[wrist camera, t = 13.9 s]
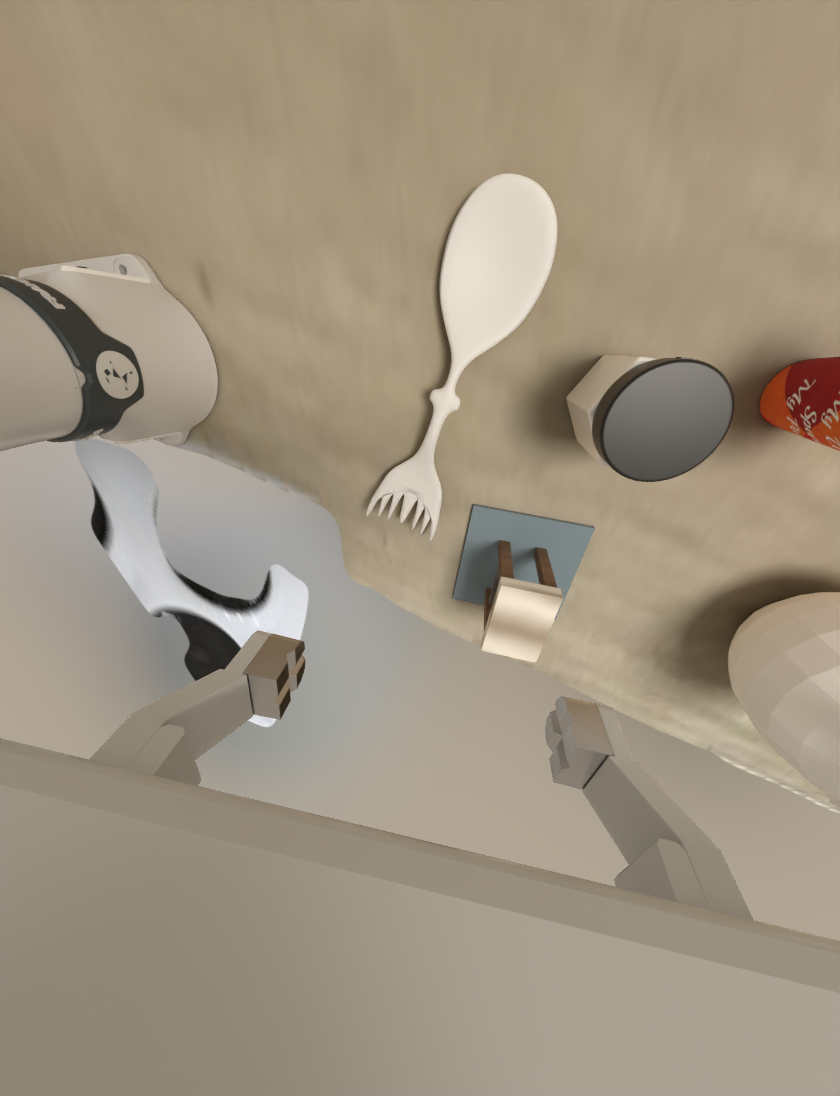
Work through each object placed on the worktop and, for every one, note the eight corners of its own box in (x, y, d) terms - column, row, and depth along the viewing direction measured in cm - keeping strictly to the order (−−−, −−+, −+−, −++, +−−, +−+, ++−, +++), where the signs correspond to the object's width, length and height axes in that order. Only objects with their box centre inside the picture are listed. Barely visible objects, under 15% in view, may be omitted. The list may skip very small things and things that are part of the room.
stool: (499, 538, 43) (501, 585, 34) (548, 547, 42) (563, 598, 34) (482, 596, 48) (481, 650, 39) (527, 605, 47) (535, 662, 38)
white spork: (370, 506, 45) (361, 517, 42) (472, 166, 28) (470, 145, 25) (435, 532, 45) (431, 545, 42) (575, 210, 29) (585, 195, 26)
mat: (453, 596, 49) (452, 598, 49) (473, 503, 42) (473, 505, 42) (554, 617, 48) (555, 620, 47) (593, 526, 41) (594, 528, 40)
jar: (666, 429, 35) (740, 464, 24) (579, 460, 38) (613, 502, 27) (652, 333, 31) (732, 325, 21) (558, 374, 34) (587, 386, 24)
